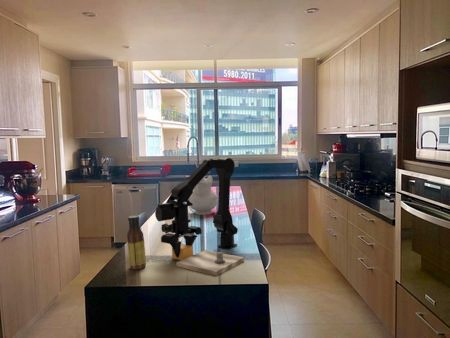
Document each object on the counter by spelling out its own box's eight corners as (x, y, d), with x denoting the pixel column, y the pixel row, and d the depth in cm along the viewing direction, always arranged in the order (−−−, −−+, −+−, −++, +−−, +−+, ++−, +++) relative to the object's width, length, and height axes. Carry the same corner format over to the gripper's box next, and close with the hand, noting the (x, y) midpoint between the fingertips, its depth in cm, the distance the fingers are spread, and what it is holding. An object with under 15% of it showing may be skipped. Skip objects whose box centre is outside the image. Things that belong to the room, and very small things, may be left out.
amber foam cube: (182, 254, 155) (181, 243, 154) (193, 256, 151) (192, 245, 151) (172, 258, 150) (171, 247, 150) (183, 260, 146) (182, 249, 146)
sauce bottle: (147, 264, 143) (145, 214, 142) (144, 270, 137) (142, 217, 135) (130, 265, 143) (128, 214, 141) (126, 270, 137) (124, 218, 135)
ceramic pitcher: (216, 218, 228) (218, 178, 226) (185, 216, 228) (186, 176, 226) (217, 211, 250) (219, 175, 248) (189, 210, 250) (190, 173, 248)
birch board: (205, 253, 155) (205, 241, 155) (243, 261, 144) (243, 248, 144) (176, 266, 140) (176, 253, 140) (216, 275, 129) (215, 262, 129)
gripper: (182, 211, 161) (183, 246, 163) (150, 219, 146) (152, 258, 148) (201, 214, 155) (202, 250, 156) (170, 223, 140) (172, 262, 141)
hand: (182, 255), depth 151 cm, fingers closed on amber foam cube, 6 cm apart
